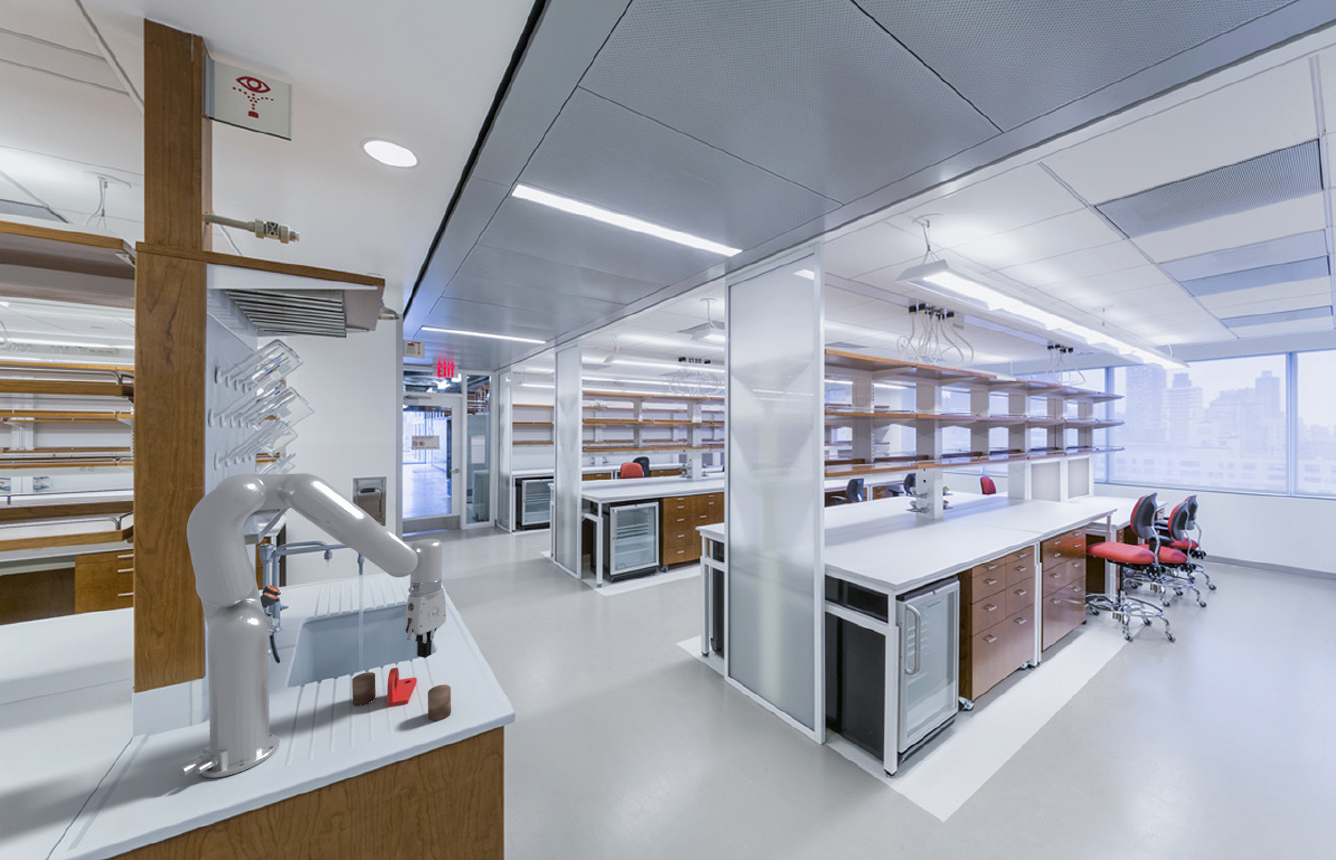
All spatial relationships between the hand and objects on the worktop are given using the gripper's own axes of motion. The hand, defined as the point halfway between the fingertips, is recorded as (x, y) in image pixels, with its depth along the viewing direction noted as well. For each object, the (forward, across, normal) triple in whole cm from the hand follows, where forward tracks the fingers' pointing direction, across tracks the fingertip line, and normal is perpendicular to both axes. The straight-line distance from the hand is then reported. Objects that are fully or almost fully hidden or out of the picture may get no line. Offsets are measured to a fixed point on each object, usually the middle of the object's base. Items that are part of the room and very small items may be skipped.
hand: (424, 655), depth 127 cm
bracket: (+10, -2, +4) cm, 11 cm away
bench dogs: (+10, -8, -1) cm, 12 cm away
